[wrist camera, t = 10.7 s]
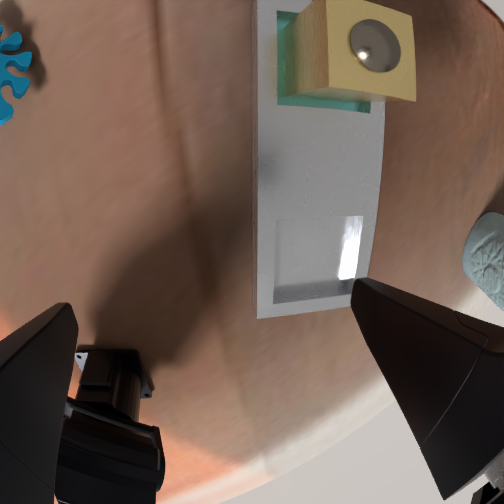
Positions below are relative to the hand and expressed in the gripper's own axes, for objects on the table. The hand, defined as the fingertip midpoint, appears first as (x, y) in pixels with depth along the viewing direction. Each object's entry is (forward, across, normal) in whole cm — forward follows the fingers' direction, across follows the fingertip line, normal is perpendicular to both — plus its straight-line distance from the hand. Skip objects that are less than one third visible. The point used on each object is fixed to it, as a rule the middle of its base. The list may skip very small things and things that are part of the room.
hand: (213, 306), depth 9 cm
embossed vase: (+13, -31, +6) cm, 34 cm away
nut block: (+12, -8, -9) cm, 17 cm away
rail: (+13, -8, -2) cm, 15 cm away
